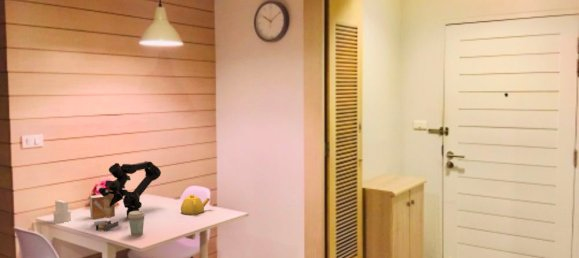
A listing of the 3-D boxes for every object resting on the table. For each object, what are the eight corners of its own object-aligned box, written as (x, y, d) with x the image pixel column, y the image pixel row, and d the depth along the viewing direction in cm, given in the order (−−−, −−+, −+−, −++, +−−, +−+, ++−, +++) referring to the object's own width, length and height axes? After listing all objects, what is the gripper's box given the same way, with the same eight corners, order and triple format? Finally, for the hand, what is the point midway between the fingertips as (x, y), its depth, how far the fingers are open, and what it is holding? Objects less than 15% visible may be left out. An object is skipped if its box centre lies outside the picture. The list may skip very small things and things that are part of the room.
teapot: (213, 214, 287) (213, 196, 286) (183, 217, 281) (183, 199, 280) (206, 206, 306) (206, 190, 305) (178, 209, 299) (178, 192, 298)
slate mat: (106, 221, 273) (106, 220, 273) (107, 224, 267) (107, 223, 267) (93, 222, 271) (93, 221, 271) (94, 225, 264) (94, 224, 264)
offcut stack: (103, 228, 260) (103, 222, 259) (108, 229, 259) (108, 222, 258) (98, 230, 256) (97, 224, 256) (103, 231, 255) (102, 224, 254)
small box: (92, 219, 277) (91, 197, 276) (90, 217, 282) (89, 195, 281) (106, 217, 281) (106, 196, 280) (104, 215, 287) (103, 194, 286)
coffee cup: (138, 237, 243) (137, 215, 242) (125, 236, 246) (124, 213, 245) (148, 233, 251) (148, 211, 249) (135, 231, 254) (135, 209, 253)
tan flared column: (109, 215, 264) (109, 194, 263) (114, 216, 263) (114, 195, 262) (104, 217, 260) (103, 196, 259) (109, 218, 259) (108, 197, 258)
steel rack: (110, 224, 266) (109, 220, 266) (118, 225, 264) (118, 221, 264) (95, 230, 256) (95, 225, 256) (104, 231, 254) (104, 226, 254)
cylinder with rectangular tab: (74, 220, 275) (73, 200, 274) (59, 224, 268) (58, 203, 267) (65, 218, 280) (64, 198, 279) (50, 221, 273) (49, 201, 272)
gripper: (99, 173, 266) (86, 196, 257) (126, 175, 260) (113, 199, 251) (110, 184, 274) (97, 207, 265) (136, 186, 268) (123, 210, 259)
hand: (107, 205), depth 260 cm, fingers closed on tan flared column, 3 cm apart
